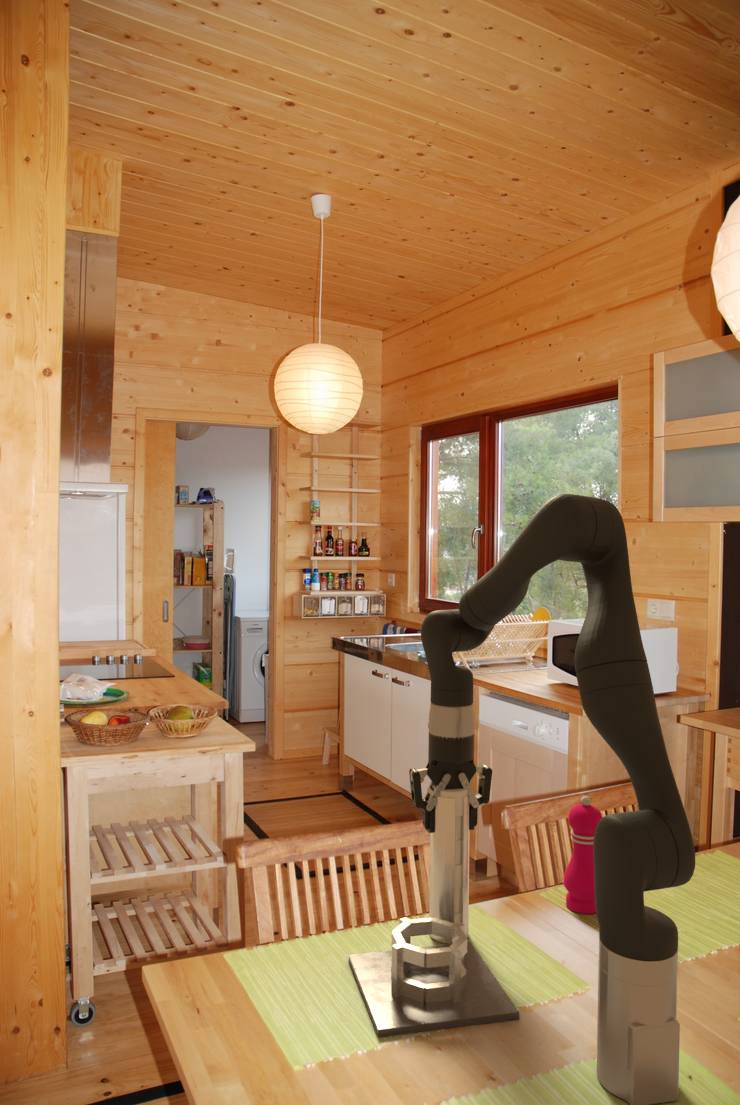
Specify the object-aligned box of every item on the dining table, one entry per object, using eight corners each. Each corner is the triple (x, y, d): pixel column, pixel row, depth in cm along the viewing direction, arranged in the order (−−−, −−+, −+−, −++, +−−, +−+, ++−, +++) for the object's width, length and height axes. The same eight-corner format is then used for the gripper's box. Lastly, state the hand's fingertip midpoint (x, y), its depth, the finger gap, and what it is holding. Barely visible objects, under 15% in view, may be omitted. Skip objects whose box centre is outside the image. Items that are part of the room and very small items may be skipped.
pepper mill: (555, 900, 154) (557, 791, 153) (590, 895, 156) (592, 788, 155) (576, 918, 147) (578, 804, 146) (612, 912, 149) (615, 800, 149)
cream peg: (468, 926, 144) (469, 780, 143) (468, 945, 137) (470, 792, 136) (429, 924, 144) (431, 779, 143) (428, 943, 138) (430, 791, 137)
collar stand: (519, 1019, 117) (519, 962, 117) (378, 1037, 112) (378, 978, 112) (470, 948, 136) (470, 899, 136) (348, 961, 132) (349, 910, 132)
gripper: (415, 737, 134) (414, 841, 135) (500, 733, 138) (499, 835, 138) (403, 726, 142) (402, 825, 142) (484, 722, 145) (483, 819, 145)
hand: (450, 829), depth 140 cm, fingers closed on cream peg, 6 cm apart
